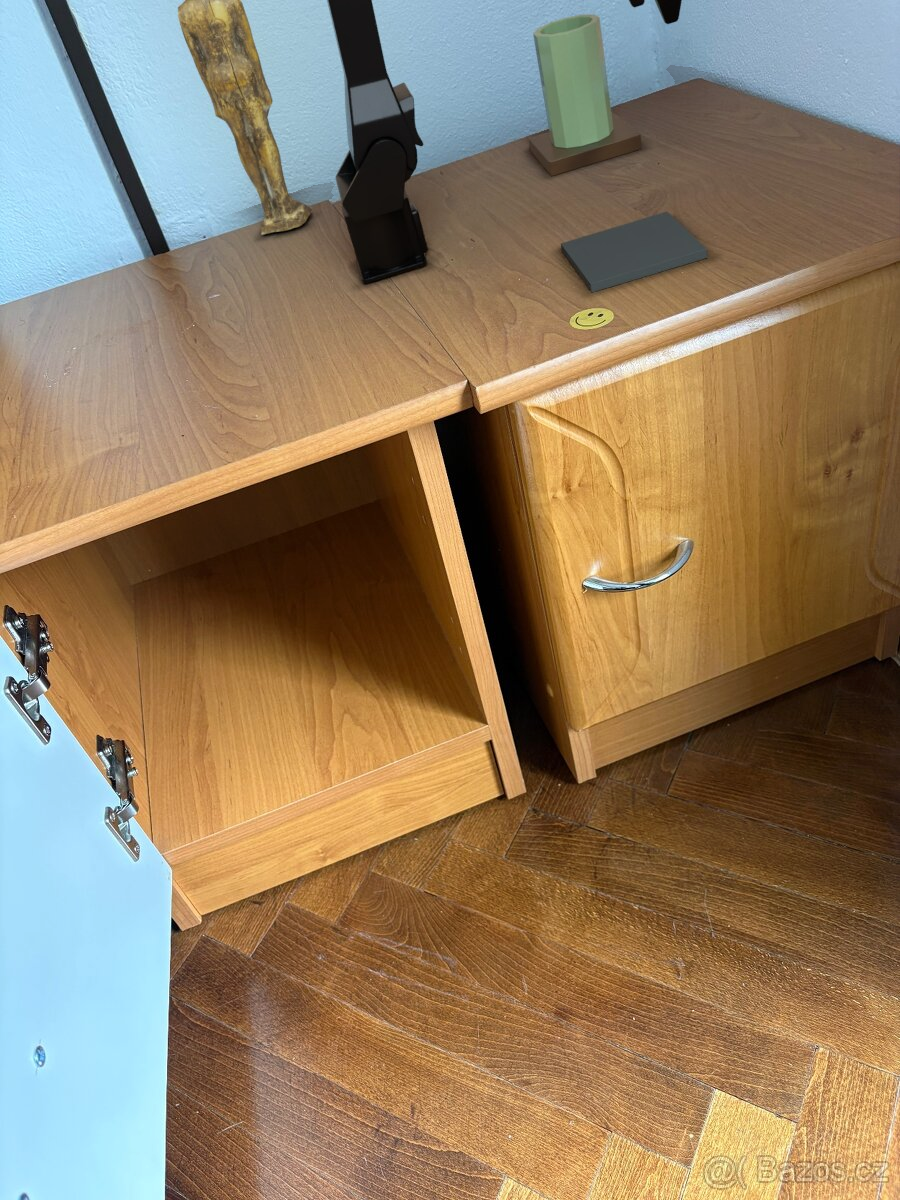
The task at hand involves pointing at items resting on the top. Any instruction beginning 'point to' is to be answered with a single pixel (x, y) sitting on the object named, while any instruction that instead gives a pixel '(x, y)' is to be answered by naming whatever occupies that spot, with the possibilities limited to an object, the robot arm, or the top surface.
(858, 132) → the top surface
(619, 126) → the stand
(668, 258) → the mat
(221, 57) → the sculpture
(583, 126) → the green faceted tube
